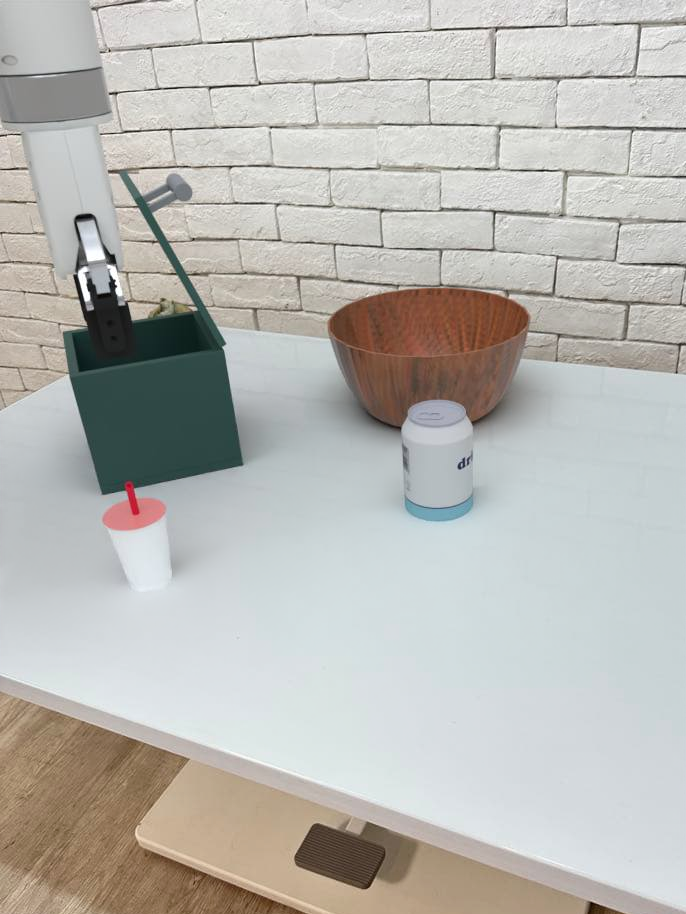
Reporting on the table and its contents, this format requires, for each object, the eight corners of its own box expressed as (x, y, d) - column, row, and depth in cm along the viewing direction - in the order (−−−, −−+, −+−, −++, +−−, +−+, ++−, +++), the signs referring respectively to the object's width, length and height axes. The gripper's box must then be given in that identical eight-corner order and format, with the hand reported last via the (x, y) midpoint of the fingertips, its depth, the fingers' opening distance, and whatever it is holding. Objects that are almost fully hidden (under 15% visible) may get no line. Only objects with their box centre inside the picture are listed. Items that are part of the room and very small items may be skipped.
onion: (212, 344, 133) (203, 293, 129) (166, 358, 129) (155, 306, 124) (186, 333, 138) (177, 283, 133) (142, 346, 133) (130, 296, 129)
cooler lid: (134, 199, 81) (186, 171, 81) (118, 173, 93) (163, 149, 93) (220, 348, 91) (266, 322, 92) (196, 307, 103) (236, 285, 104)
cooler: (102, 495, 95) (69, 377, 87) (91, 439, 107) (62, 331, 99) (243, 464, 99) (224, 350, 92) (218, 415, 111) (199, 309, 103)
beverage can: (466, 540, 84) (465, 430, 78) (398, 533, 86) (392, 425, 79) (477, 504, 90) (478, 399, 83) (414, 498, 91) (410, 394, 85)
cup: (185, 607, 77) (158, 492, 70) (124, 617, 76) (91, 503, 70) (184, 573, 81) (158, 463, 75) (126, 583, 81) (95, 472, 74)
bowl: (427, 470, 96) (424, 375, 90) (296, 407, 112) (286, 322, 106) (567, 402, 110) (573, 315, 104) (433, 353, 126) (431, 276, 119)
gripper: (-5, 94, 65) (55, 314, 74) (-3, 120, 52) (70, 384, 61) (97, 86, 67) (142, 300, 77) (124, 109, 54) (175, 365, 63)
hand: (110, 337), depth 69 cm, fingers open, 9 cm apart
